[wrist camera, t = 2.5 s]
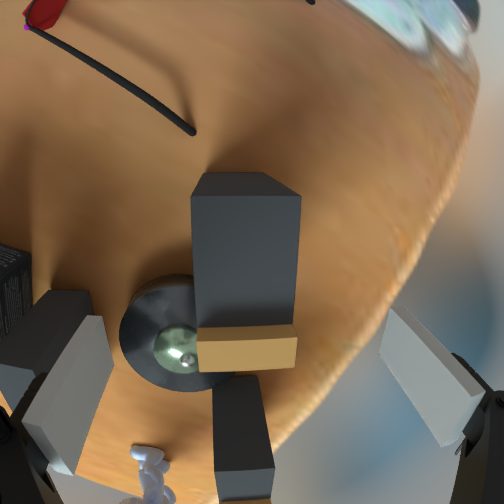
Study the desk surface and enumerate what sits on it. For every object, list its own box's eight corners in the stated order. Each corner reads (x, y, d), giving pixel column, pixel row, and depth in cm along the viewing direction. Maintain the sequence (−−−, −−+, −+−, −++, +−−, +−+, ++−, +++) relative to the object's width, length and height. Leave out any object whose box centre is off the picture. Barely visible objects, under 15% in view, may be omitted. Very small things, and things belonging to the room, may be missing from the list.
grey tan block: (48, 289, 22) (-22, 370, 11) (88, 290, 22) (25, 381, 12) (68, 357, 24) (23, 445, 14) (106, 361, 24) (69, 457, 14)
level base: (117, 274, 22) (102, 296, 19) (244, 272, 23) (249, 295, 20) (137, 372, 25) (129, 400, 22) (243, 372, 26) (247, 401, 23)
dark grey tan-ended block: (203, 172, 20) (187, 201, 10) (263, 172, 21) (308, 200, 10) (205, 270, 23) (199, 372, 12) (261, 269, 23) (294, 367, 13)
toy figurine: (118, 439, 29) (101, 525, 17) (171, 440, 29) (164, 533, 18) (138, 469, 31) (128, 545, 20) (185, 469, 31) (184, 550, 20)
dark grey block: (212, 377, 26) (214, 483, 16) (257, 375, 26) (277, 479, 16) (216, 425, 28) (221, 518, 18) (255, 423, 29) (270, 514, 18)
